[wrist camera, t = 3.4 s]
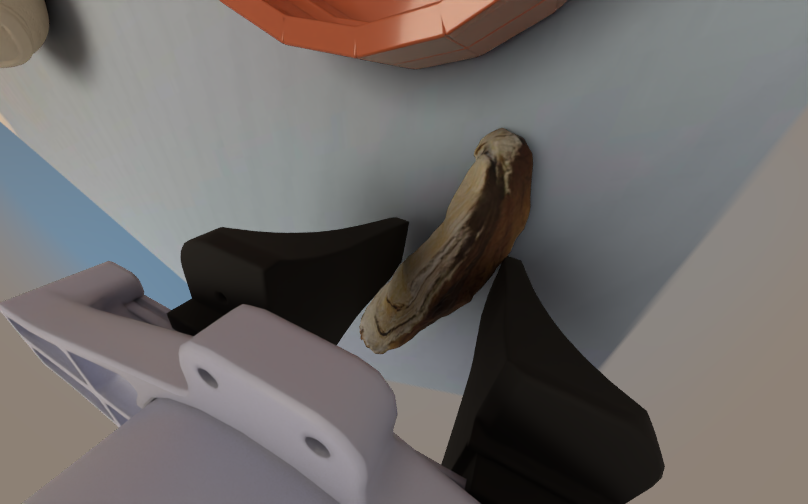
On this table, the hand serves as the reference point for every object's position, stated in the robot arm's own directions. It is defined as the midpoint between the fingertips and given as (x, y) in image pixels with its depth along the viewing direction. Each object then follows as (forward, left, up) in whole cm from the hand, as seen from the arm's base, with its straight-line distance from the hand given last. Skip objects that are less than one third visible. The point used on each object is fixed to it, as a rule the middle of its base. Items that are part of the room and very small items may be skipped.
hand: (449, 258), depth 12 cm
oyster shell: (+1, 0, -2) cm, 2 cm away
